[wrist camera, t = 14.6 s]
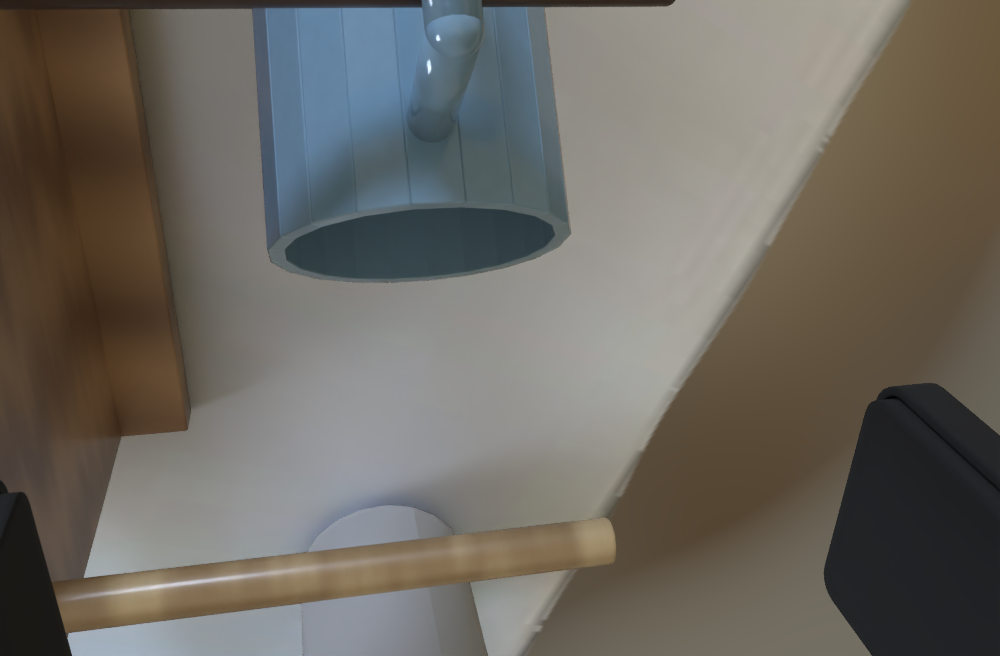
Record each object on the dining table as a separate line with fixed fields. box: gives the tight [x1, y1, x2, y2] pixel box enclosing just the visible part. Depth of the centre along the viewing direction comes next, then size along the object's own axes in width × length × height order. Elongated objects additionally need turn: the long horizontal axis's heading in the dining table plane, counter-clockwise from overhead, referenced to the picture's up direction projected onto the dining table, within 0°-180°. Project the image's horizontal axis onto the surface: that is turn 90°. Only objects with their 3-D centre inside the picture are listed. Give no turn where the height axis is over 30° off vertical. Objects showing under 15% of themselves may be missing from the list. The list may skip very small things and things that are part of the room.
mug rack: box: [0, 0, 675, 637], centre depth 25 cm, size 24×20×18 cm
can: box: [301, 505, 488, 656], centre depth 38 cm, size 8×8×12 cm
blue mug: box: [252, 0, 571, 283], centre depth 21 cm, size 12×7×9 cm
